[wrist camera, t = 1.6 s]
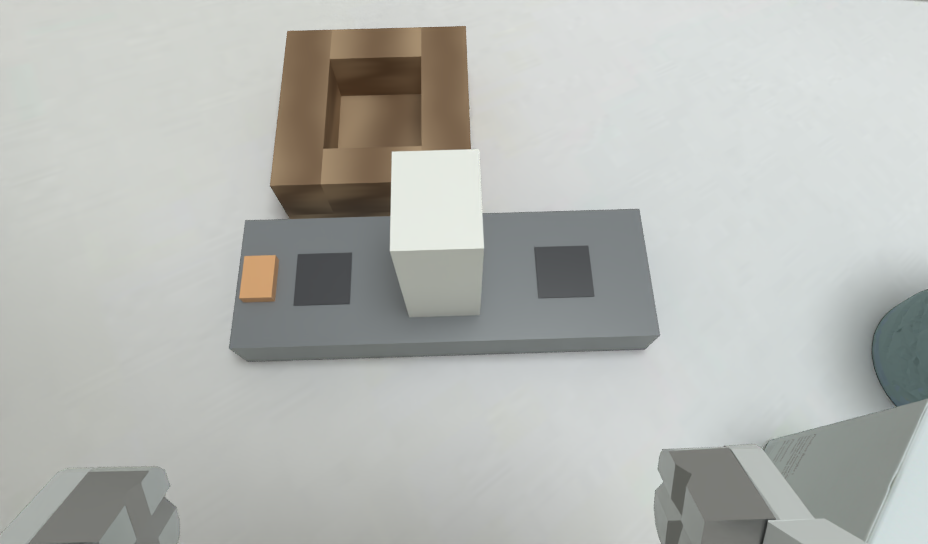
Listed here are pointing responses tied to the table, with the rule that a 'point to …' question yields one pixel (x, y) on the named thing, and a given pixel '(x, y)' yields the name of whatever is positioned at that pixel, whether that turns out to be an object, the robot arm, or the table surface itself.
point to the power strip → (492, 332)
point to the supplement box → (863, 473)
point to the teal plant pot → (903, 351)
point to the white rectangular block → (437, 231)
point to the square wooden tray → (364, 114)
